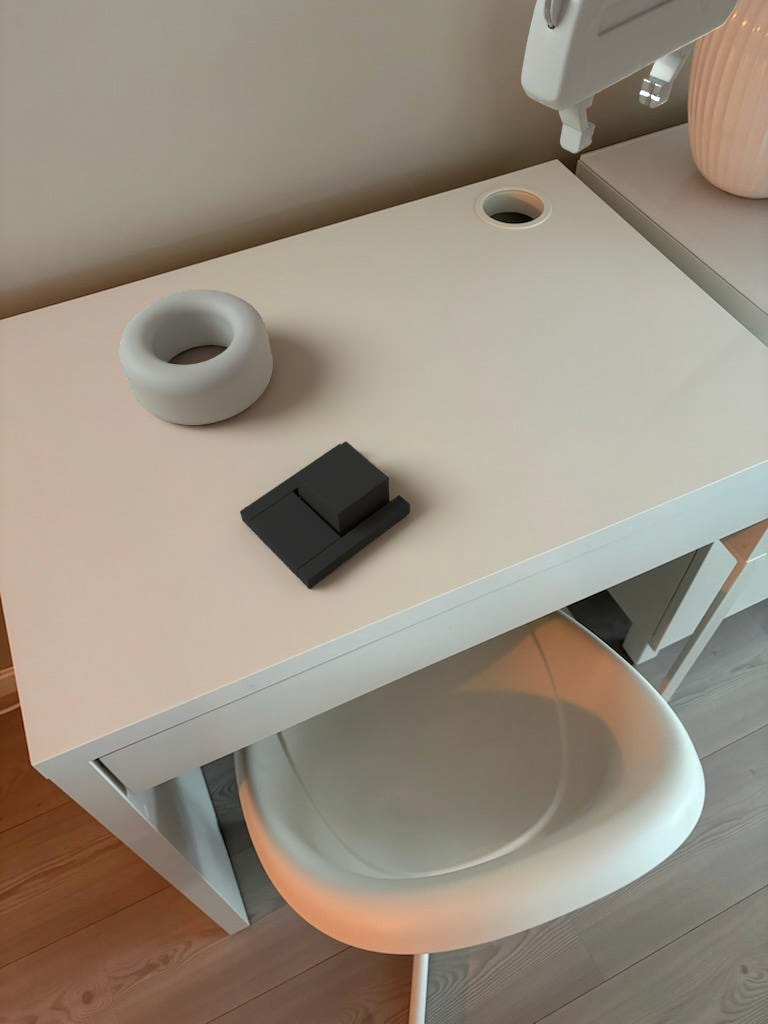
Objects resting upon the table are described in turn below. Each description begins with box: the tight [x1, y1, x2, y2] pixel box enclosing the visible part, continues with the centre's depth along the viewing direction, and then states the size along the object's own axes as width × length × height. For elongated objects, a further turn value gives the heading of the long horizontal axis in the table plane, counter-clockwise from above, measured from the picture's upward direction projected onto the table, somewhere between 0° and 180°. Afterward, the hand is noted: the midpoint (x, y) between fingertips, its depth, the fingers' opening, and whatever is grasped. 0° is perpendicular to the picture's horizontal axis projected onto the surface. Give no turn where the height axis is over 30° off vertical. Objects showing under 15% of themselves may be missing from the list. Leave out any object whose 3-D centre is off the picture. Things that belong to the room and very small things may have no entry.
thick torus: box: [118, 289, 274, 426], centre depth 78 cm, size 15×15×7 cm
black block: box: [295, 440, 390, 538], centre depth 69 cm, size 6×6×4 cm
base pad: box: [239, 443, 411, 590], centre depth 69 cm, size 10×12×2 cm
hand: (614, 124), depth 57 cm, fingers open, 8 cm apart
